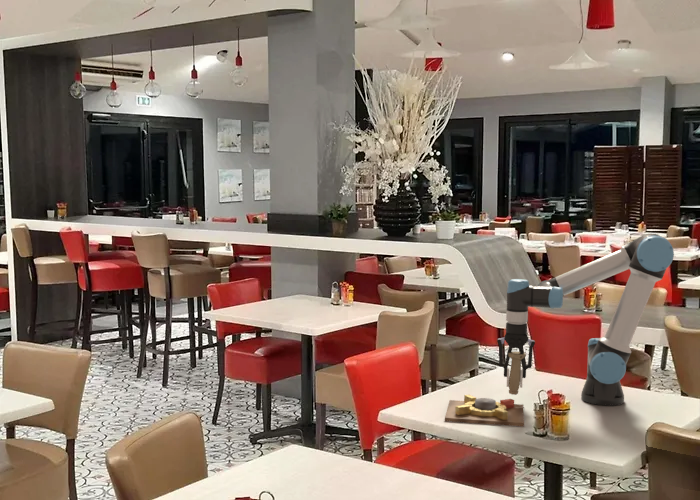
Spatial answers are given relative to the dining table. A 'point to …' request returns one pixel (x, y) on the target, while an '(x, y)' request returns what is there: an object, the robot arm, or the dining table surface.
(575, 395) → the dining table surface
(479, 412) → the ring nut
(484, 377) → the dining table surface
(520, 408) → the board
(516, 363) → the handle
